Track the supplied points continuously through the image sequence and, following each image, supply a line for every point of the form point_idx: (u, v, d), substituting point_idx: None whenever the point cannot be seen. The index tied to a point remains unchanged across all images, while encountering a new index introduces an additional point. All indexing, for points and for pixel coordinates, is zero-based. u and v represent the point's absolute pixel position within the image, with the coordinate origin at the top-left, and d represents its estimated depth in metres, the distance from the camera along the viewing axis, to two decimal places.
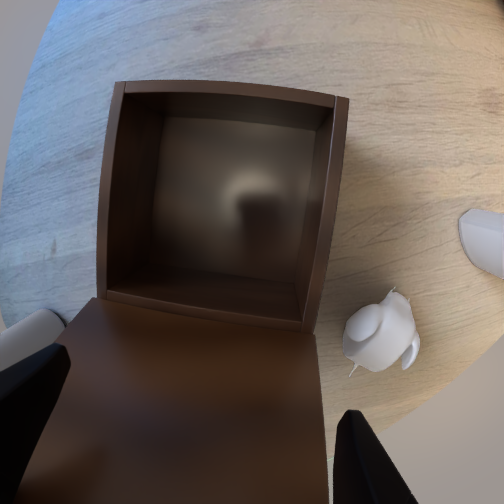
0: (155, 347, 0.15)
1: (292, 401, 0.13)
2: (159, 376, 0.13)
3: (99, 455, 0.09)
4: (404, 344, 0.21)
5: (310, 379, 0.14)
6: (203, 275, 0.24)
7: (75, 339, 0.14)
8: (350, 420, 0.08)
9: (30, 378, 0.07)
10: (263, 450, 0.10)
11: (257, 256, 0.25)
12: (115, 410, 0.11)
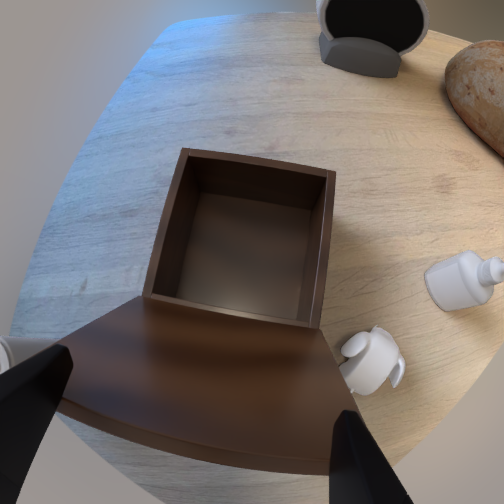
0: (199, 322, 0.19)
1: (311, 354, 0.17)
2: (206, 335, 0.17)
3: (163, 366, 0.13)
4: (392, 360, 0.25)
5: (322, 346, 0.18)
6: None
7: (130, 312, 0.18)
8: (346, 420, 0.08)
9: (33, 379, 0.07)
10: (295, 372, 0.14)
11: (266, 302, 0.30)
12: (174, 346, 0.15)
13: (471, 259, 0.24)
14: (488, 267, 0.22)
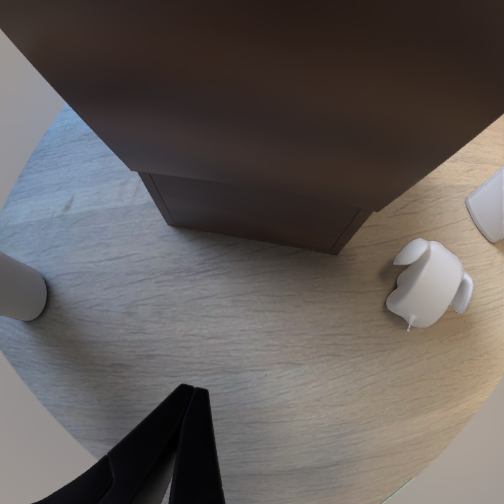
0: None
1: None
2: None
3: None
4: (458, 272, 0.18)
5: None
6: None
7: None
8: (191, 396, 0.08)
9: (173, 434, 0.07)
10: None
11: None
12: None
13: None
14: None
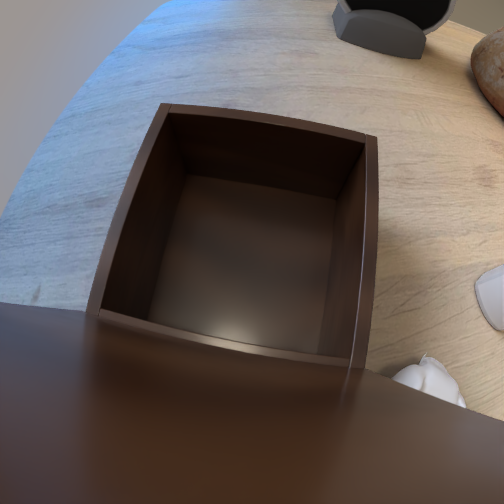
0: (166, 345, 0.10)
1: (386, 390, 0.08)
2: (175, 357, 0.08)
3: (36, 373, 0.03)
4: (451, 402, 0.15)
5: (392, 383, 0.09)
6: None
7: (50, 313, 0.09)
8: None
9: None
10: (391, 415, 0.05)
11: (276, 324, 0.21)
12: (95, 355, 0.06)
13: None
14: None
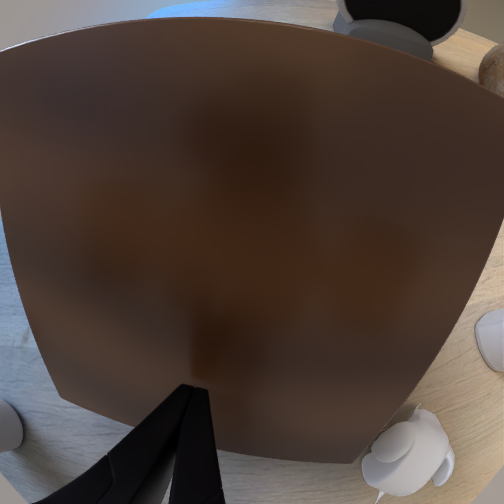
0: None
1: None
2: None
3: None
4: (440, 458, 0.14)
5: None
6: None
7: None
8: (191, 397, 0.08)
9: (173, 434, 0.07)
10: None
11: None
12: None
13: None
14: None
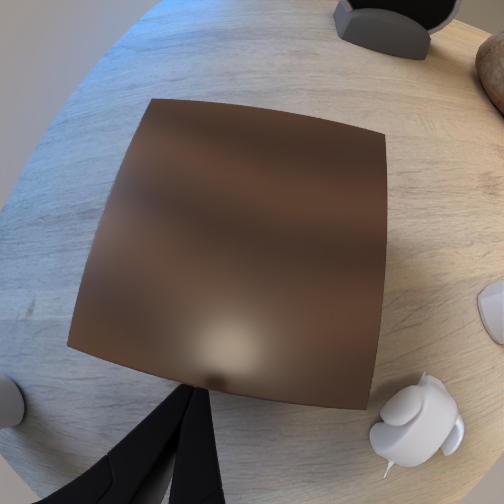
0: None
1: None
2: None
3: None
4: (449, 424, 0.14)
5: None
6: None
7: None
8: (191, 396, 0.08)
9: (173, 434, 0.07)
10: None
11: None
12: None
13: None
14: None
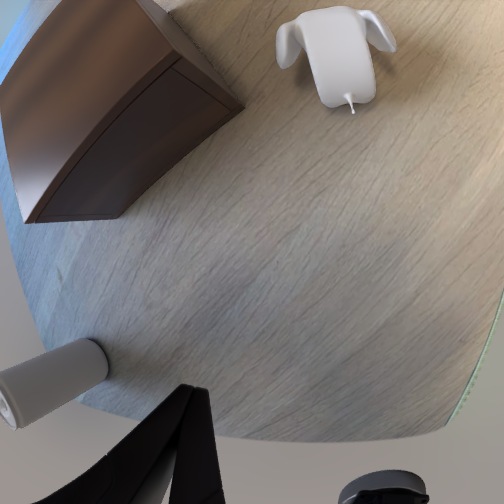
0: None
1: None
2: None
3: None
4: (347, 17, 0.12)
5: None
6: None
7: None
8: (191, 396, 0.08)
9: (173, 434, 0.07)
10: None
11: None
12: None
13: None
14: None
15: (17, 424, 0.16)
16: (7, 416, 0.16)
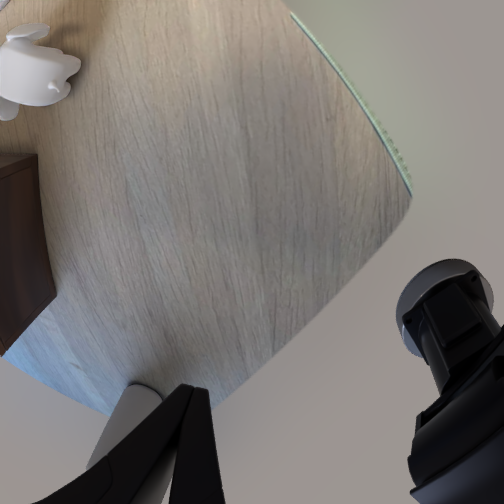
0: None
1: None
2: None
3: None
4: (3, 53, 0.11)
5: None
6: None
7: None
8: (191, 396, 0.08)
9: (173, 434, 0.07)
10: None
11: None
12: None
13: None
14: None
15: None
16: None
